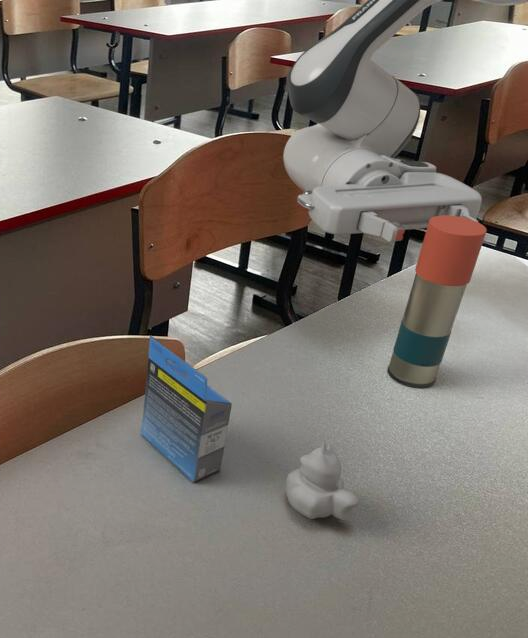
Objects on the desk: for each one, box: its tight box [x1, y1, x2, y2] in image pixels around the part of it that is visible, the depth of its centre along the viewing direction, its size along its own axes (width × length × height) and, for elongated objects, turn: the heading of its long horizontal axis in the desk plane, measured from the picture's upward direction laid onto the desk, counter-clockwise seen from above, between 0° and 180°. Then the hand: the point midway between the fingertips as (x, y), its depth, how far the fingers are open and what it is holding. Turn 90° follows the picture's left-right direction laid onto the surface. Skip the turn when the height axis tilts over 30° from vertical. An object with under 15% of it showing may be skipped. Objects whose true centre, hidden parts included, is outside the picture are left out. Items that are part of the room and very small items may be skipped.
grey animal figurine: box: [285, 439, 359, 521], centre depth 69 cm, size 5×7×8 cm
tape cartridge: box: [140, 335, 233, 483], centre depth 75 cm, size 9×4×12 cm, turn 31°
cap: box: [414, 215, 487, 286], centre depth 83 cm, size 6×6×6 cm
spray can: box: [387, 272, 468, 389], centre depth 88 cm, size 5×5×14 cm
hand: (435, 232), depth 85 cm, fingers open, 8 cm apart
